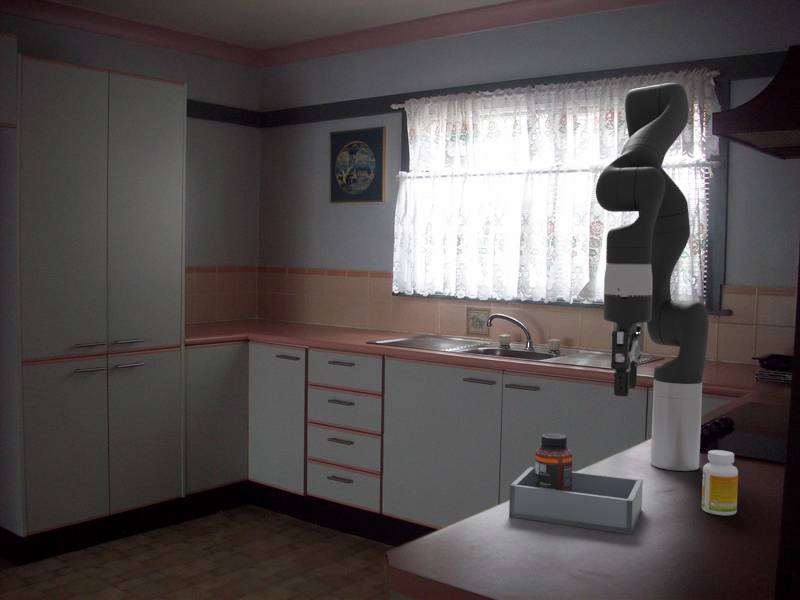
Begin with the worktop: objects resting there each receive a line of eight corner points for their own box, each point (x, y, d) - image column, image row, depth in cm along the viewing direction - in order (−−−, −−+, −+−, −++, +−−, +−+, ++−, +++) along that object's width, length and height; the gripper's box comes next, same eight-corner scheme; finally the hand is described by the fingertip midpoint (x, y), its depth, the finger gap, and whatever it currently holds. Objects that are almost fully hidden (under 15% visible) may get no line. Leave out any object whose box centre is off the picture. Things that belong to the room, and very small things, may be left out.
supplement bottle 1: (572, 501, 135) (574, 433, 135) (570, 511, 129) (572, 440, 129) (536, 497, 137) (538, 430, 136) (531, 507, 131) (534, 437, 131)
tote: (529, 495, 141) (530, 466, 141) (641, 509, 134) (642, 479, 134) (509, 516, 129) (510, 485, 128) (631, 534, 122) (632, 501, 121)
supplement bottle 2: (744, 514, 133) (746, 455, 133) (718, 517, 131) (720, 457, 131) (719, 505, 138) (722, 447, 138) (694, 508, 136) (696, 449, 136)
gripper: (611, 289, 140) (609, 383, 141) (596, 293, 127) (593, 396, 128) (657, 290, 137) (654, 386, 138) (646, 294, 124) (643, 400, 125)
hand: (625, 391), depth 133 cm, fingers open, 8 cm apart
